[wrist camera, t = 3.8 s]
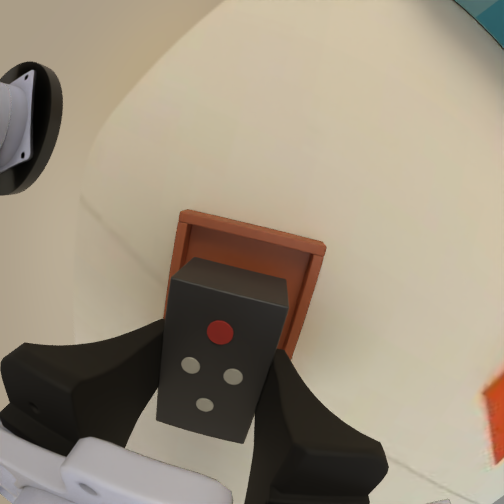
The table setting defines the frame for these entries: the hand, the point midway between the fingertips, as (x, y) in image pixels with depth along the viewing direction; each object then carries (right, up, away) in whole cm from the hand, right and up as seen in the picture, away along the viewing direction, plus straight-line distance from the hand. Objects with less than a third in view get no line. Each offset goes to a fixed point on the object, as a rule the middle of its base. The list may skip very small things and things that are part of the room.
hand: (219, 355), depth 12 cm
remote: (0, 0, +1) cm, 1 cm away
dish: (0, +1, +4) cm, 4 cm away
